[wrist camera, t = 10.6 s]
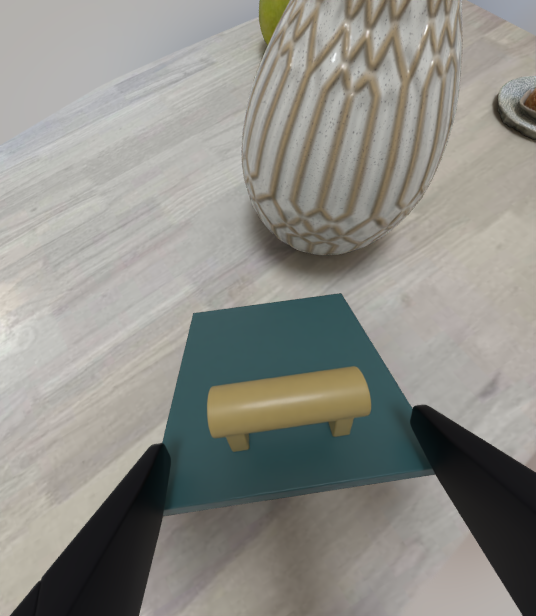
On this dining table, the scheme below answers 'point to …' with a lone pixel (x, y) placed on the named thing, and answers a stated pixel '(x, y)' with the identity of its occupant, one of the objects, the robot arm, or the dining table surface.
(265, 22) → the apple
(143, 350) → the dining table surface
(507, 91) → the pastry
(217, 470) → the box lid
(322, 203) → the vase
